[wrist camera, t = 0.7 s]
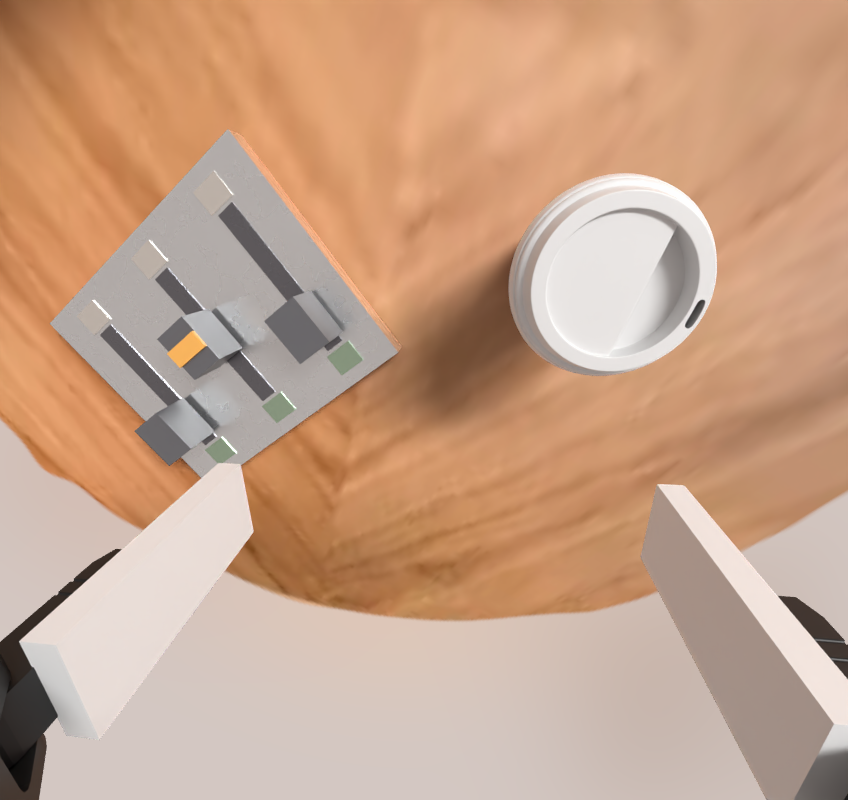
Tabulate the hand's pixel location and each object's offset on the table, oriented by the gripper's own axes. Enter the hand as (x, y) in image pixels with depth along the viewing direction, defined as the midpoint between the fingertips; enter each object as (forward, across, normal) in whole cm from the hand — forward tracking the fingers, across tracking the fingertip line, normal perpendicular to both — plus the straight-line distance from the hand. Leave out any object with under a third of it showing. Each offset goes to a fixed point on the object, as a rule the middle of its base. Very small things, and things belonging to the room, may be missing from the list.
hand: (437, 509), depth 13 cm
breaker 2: (+21, -25, -8) cm, 34 cm away
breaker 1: (+21, -21, 0) cm, 30 cm away
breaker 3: (+21, -12, +2) cm, 24 cm away
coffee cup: (+24, +8, +6) cm, 26 cm away
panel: (+24, -21, 0) cm, 32 cm away
